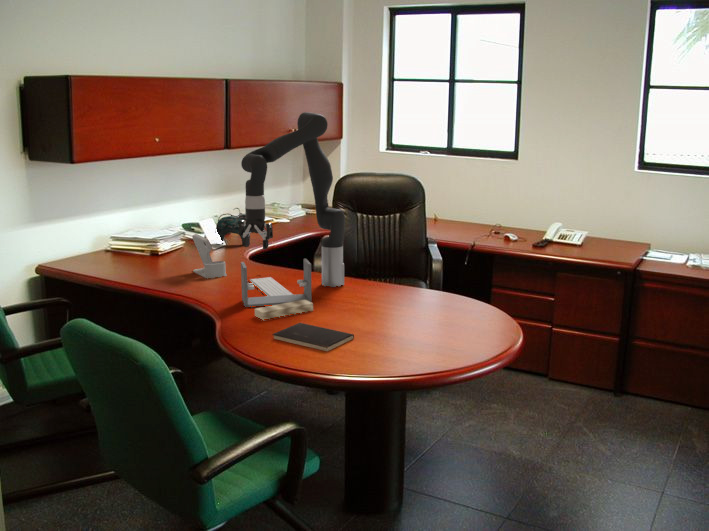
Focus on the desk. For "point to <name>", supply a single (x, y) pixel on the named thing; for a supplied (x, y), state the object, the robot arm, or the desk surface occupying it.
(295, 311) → the shelf board
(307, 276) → the shelf frame
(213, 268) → the phone holder
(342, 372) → the desk surface
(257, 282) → the baseboard
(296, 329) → the hardcover book
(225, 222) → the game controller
